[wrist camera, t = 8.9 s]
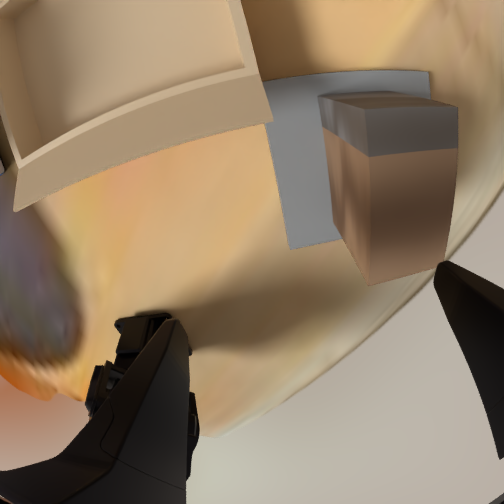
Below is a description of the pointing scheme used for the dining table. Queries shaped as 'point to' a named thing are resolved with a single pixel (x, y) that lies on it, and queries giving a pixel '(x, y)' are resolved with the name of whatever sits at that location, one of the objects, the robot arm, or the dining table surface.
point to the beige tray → (119, 83)
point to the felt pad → (317, 143)
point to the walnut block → (391, 178)
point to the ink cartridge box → (1, 168)
